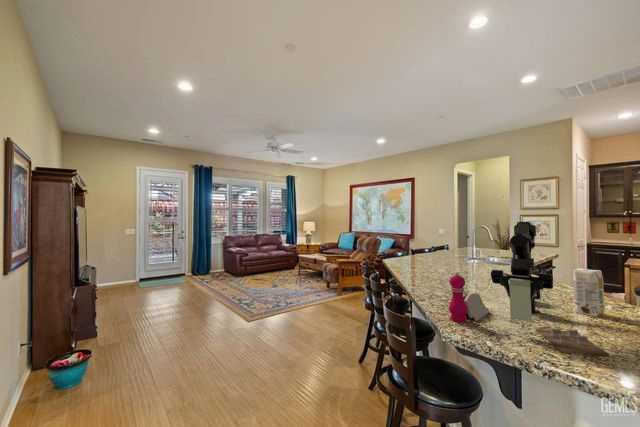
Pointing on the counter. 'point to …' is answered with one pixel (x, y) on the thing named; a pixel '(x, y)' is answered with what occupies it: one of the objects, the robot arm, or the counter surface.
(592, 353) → the plate
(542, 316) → the counter surface
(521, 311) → the door
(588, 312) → the juice carton
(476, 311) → the grey rounded slab
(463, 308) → the pepper mill
